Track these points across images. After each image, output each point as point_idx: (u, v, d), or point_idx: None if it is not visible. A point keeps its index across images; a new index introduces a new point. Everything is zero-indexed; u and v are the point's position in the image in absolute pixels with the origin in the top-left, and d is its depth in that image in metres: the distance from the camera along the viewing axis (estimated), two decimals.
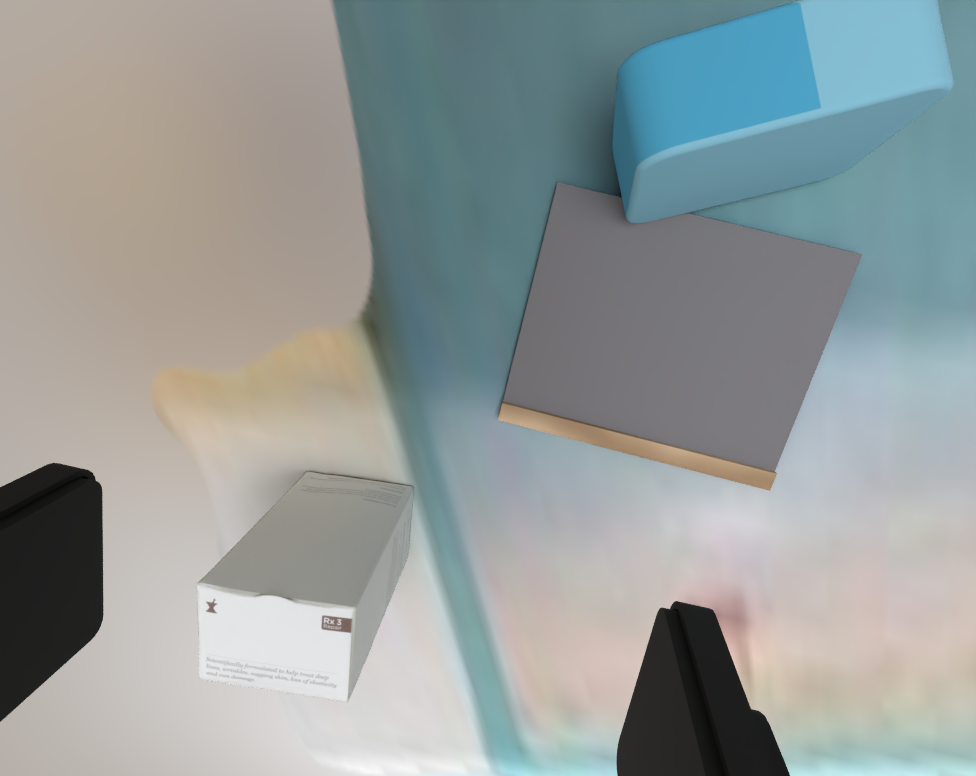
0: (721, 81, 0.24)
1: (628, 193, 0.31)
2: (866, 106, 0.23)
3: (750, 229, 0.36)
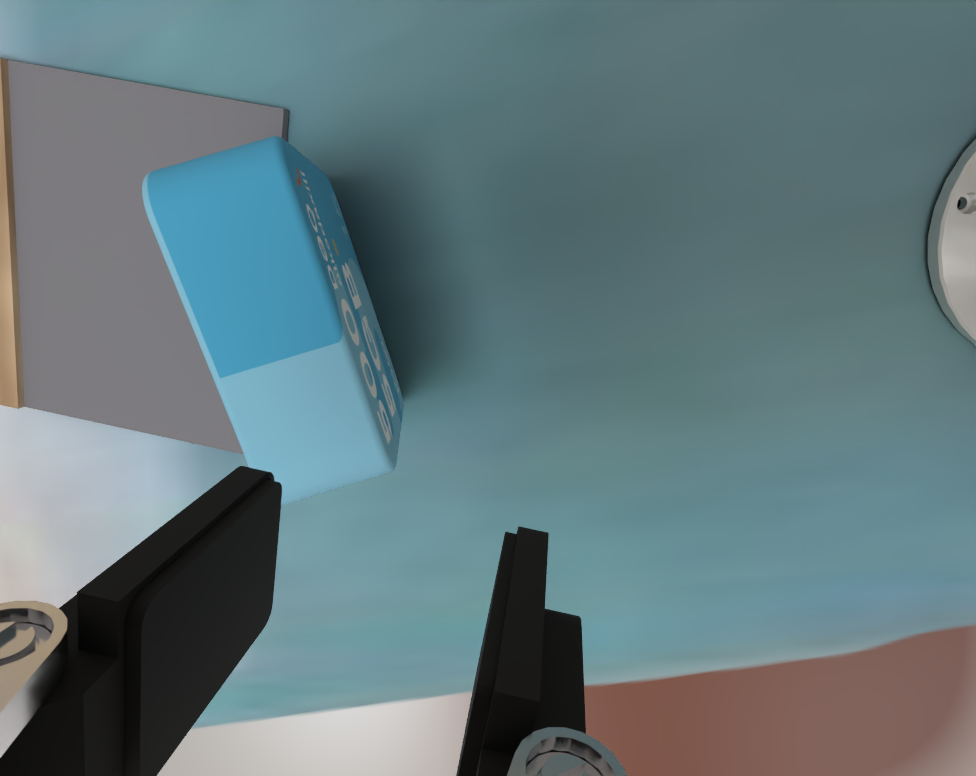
0: (241, 262, 0.19)
1: None
2: (232, 425, 0.20)
3: None
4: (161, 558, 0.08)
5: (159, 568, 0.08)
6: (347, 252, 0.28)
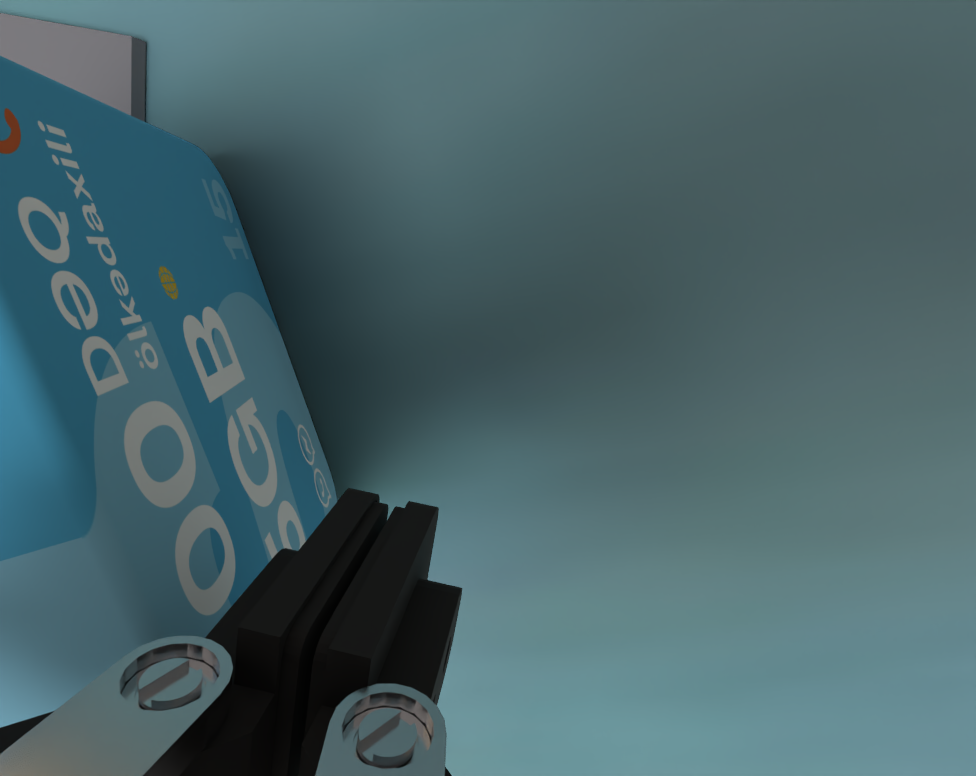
0: None
1: None
2: None
3: None
4: (304, 589, 0.08)
5: (305, 599, 0.08)
6: (227, 283, 0.16)
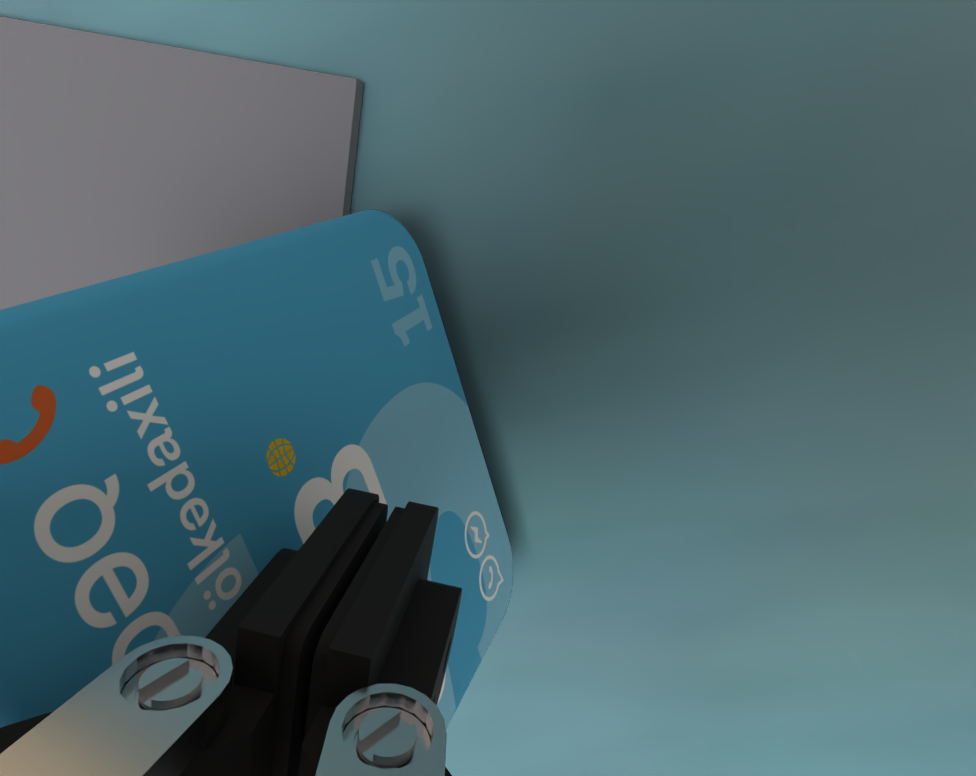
0: None
1: None
2: None
3: None
4: (305, 589, 0.08)
5: (306, 599, 0.08)
6: (385, 389, 0.14)
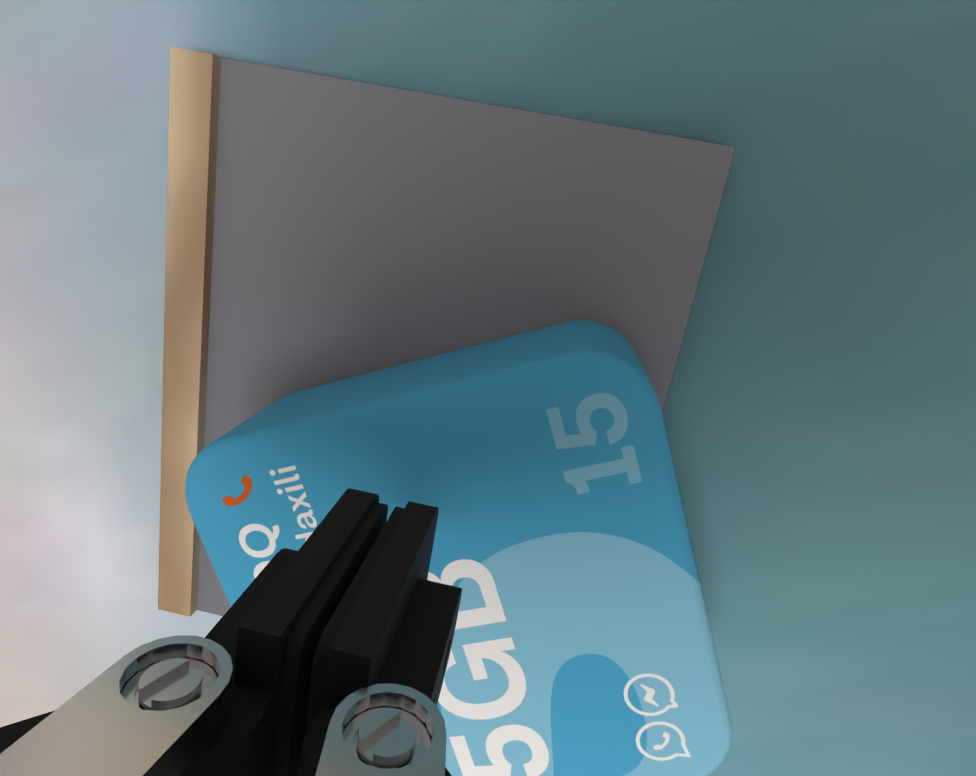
0: None
1: (440, 356, 0.18)
2: None
3: None
4: (305, 589, 0.08)
5: (305, 599, 0.08)
6: (533, 528, 0.15)
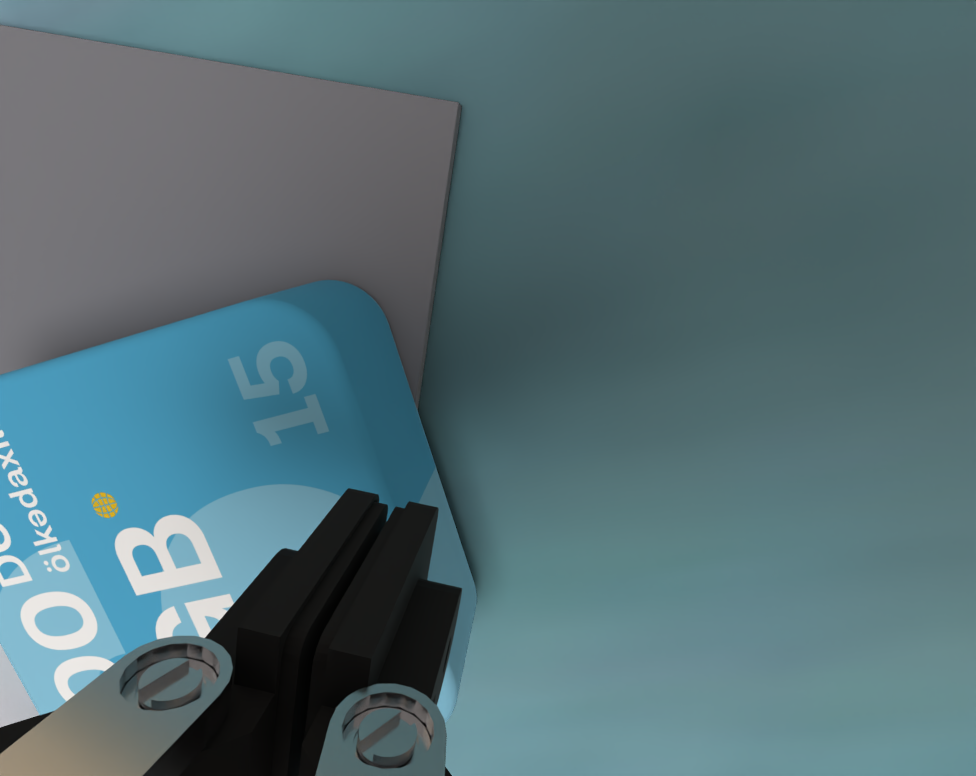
0: None
1: None
2: None
3: None
4: (304, 589, 0.08)
5: (306, 599, 0.08)
6: (233, 481, 0.14)
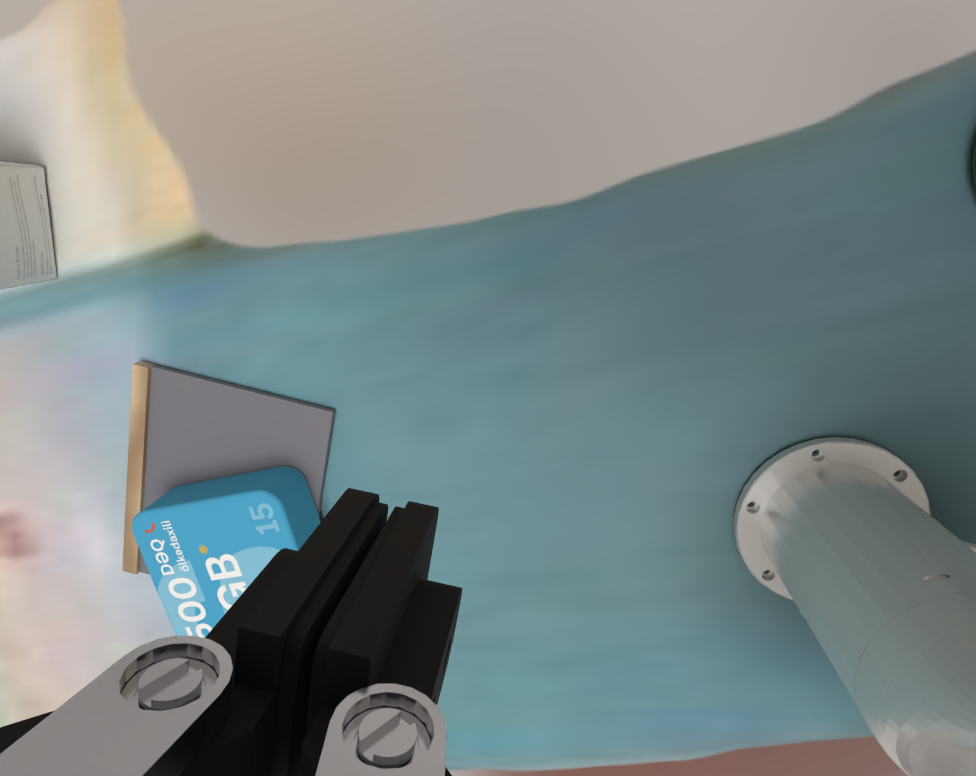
0: None
1: (233, 476, 0.47)
2: None
3: None
4: (304, 589, 0.08)
5: (306, 599, 0.08)
6: (248, 544, 0.44)
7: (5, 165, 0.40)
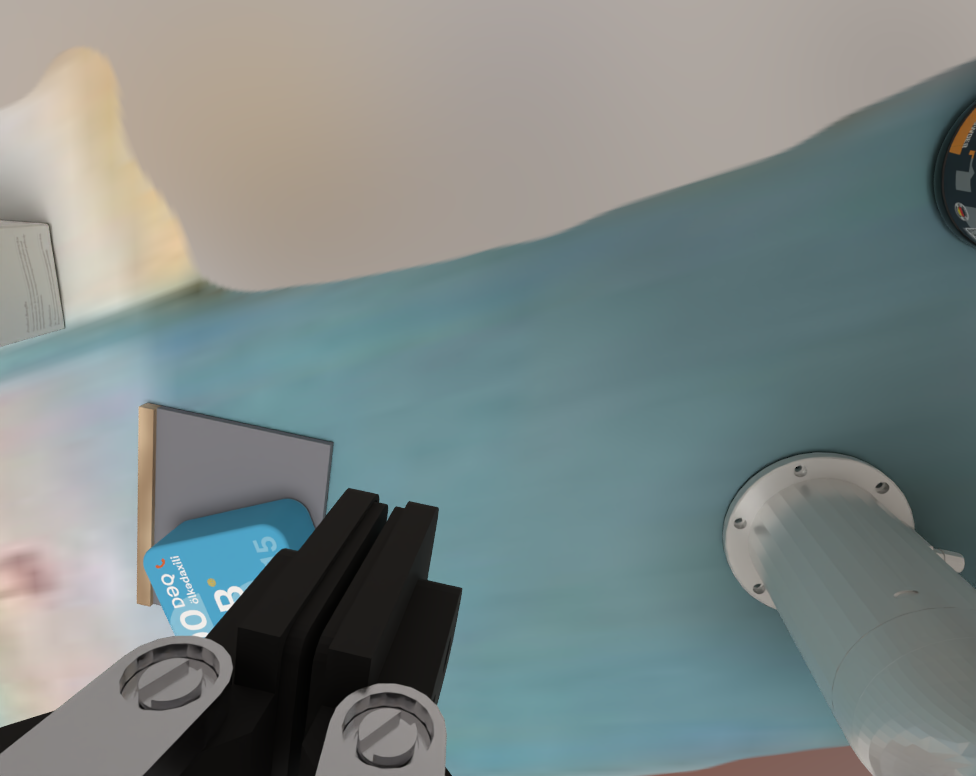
0: None
1: (238, 510, 0.49)
2: None
3: None
4: (304, 589, 0.08)
5: (306, 599, 0.08)
6: (253, 576, 0.45)
7: (12, 226, 0.42)
